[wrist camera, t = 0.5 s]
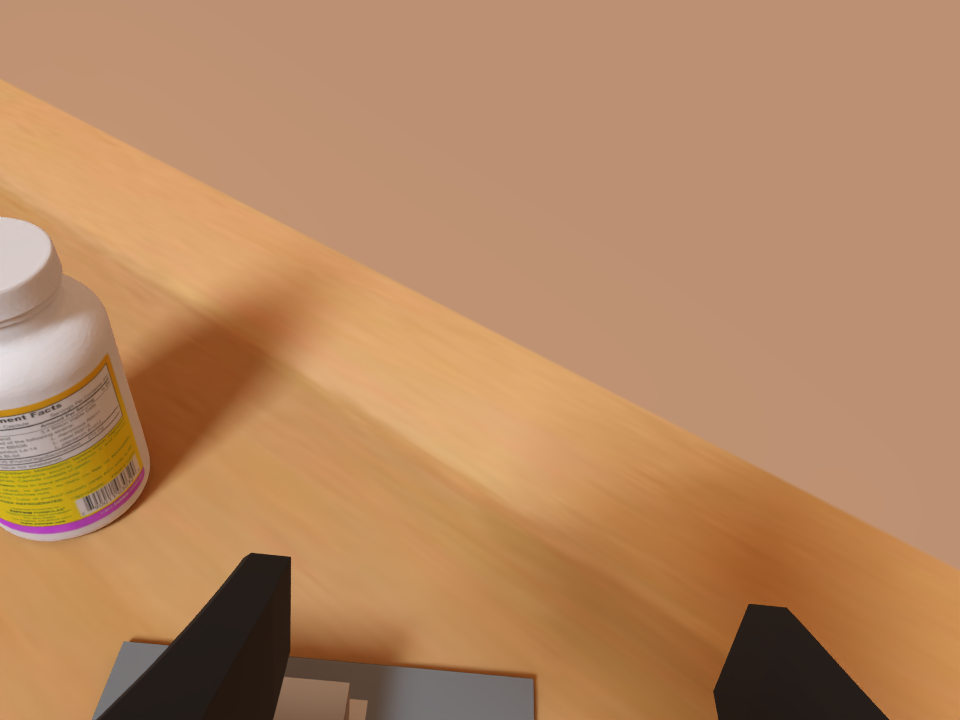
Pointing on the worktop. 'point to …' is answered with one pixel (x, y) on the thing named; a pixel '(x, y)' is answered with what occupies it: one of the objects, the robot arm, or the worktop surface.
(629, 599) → the worktop surface
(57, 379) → the supplement bottle
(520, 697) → the build mat
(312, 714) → the walnut base block
